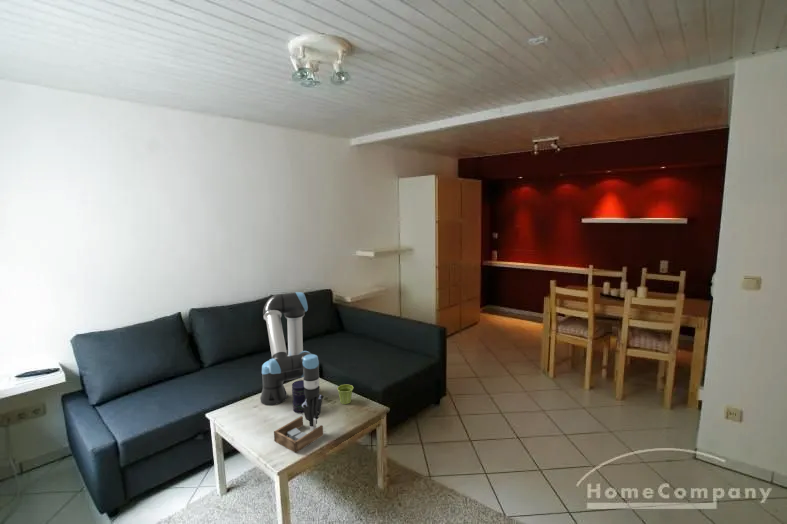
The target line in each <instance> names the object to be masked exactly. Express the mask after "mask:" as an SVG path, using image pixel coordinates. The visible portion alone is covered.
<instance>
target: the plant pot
mask: <svg viewBox="0 0 787 524" xmlns="http://www.w3.org/2000/svg"><path fill="white" fill-rule="evenodd" d="M336 389H337V393H338V396H339V402H340V404H342V405H348V404H350V403H351V402H352V395H353V390H354V386H353V385H351V384H345V383H344V384H340V385H339V386H338V387H337V388H336Z"/></svg>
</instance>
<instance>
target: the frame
mask: <svg viewBox="0 0 787 524" xmlns="http://www.w3.org/2000/svg"><path fill="white" fill-rule="evenodd" d="M301 427H304V416H302V415H301V416H299V417H297V418H296V419H294V420H292V421H290V422H289V423H287V424H285V425H283V426H281V427H279V428H277V429H276V430H273V438H274V439H273V441H274V442H276V443H277V444H278V445H280V446H282V447H285V448H286V449H287V450H290V451H291V452H293V453H295V454H297V453H298V452H300V451H301V450H303V449H304V448H306V447H307V446H309V445H311V444H312V443H313V442H315V441H317V440H318V439H320V438H321V437H323V436H324V426H323V425H319V426H318V427H316V429H315V430H313V431H311V430H310V431H309V432H308V433H306V435H305V436H303V437H302V438H300V439H298V440H297V441H295V440H293V439H291V438H289V437H287V432H288V431H290V430H292V429H294V428H297V429H298V430H299V429H300V428H301Z"/></svg>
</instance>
